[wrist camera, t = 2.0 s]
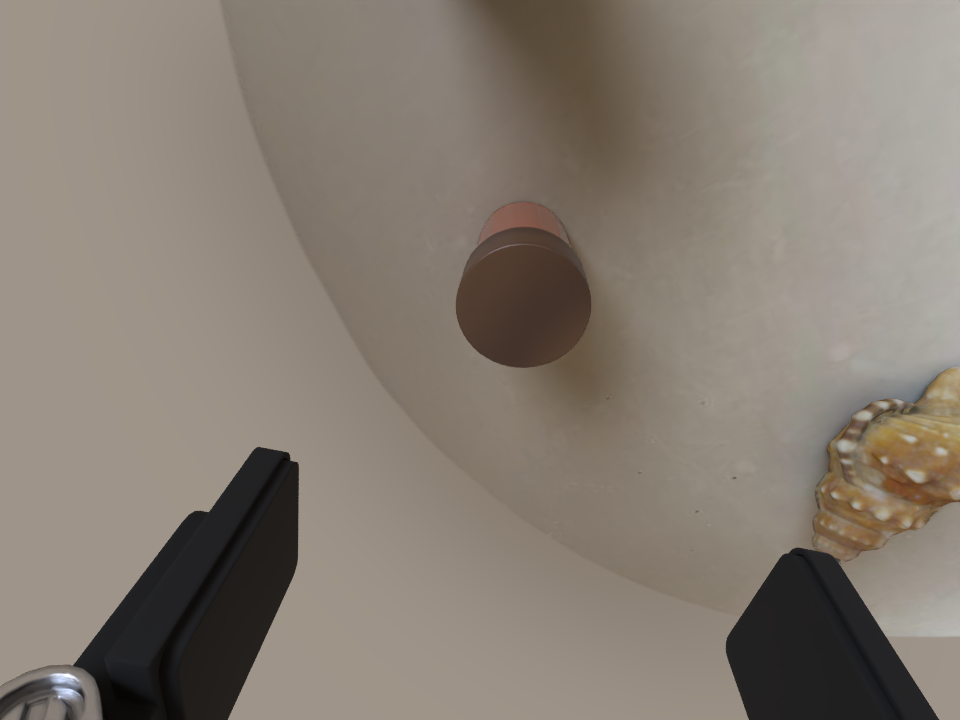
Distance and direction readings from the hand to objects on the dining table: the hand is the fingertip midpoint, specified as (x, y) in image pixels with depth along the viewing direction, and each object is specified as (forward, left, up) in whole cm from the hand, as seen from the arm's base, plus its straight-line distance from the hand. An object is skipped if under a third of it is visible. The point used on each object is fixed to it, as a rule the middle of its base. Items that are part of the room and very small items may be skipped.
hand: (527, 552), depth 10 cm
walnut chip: (0, 0, -14) cm, 14 cm away
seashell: (+24, +5, -20) cm, 32 cm away
